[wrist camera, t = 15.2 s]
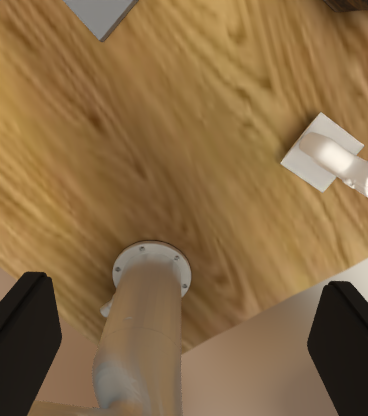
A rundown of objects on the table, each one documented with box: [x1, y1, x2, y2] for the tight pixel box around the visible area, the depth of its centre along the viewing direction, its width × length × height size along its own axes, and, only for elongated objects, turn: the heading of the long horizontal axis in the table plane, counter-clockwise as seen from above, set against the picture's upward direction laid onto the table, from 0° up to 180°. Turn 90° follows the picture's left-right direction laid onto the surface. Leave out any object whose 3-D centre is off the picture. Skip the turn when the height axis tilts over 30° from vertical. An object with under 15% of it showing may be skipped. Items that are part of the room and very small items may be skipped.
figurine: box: [280, 112, 368, 197], centre depth 31 cm, size 7×9×15 cm
